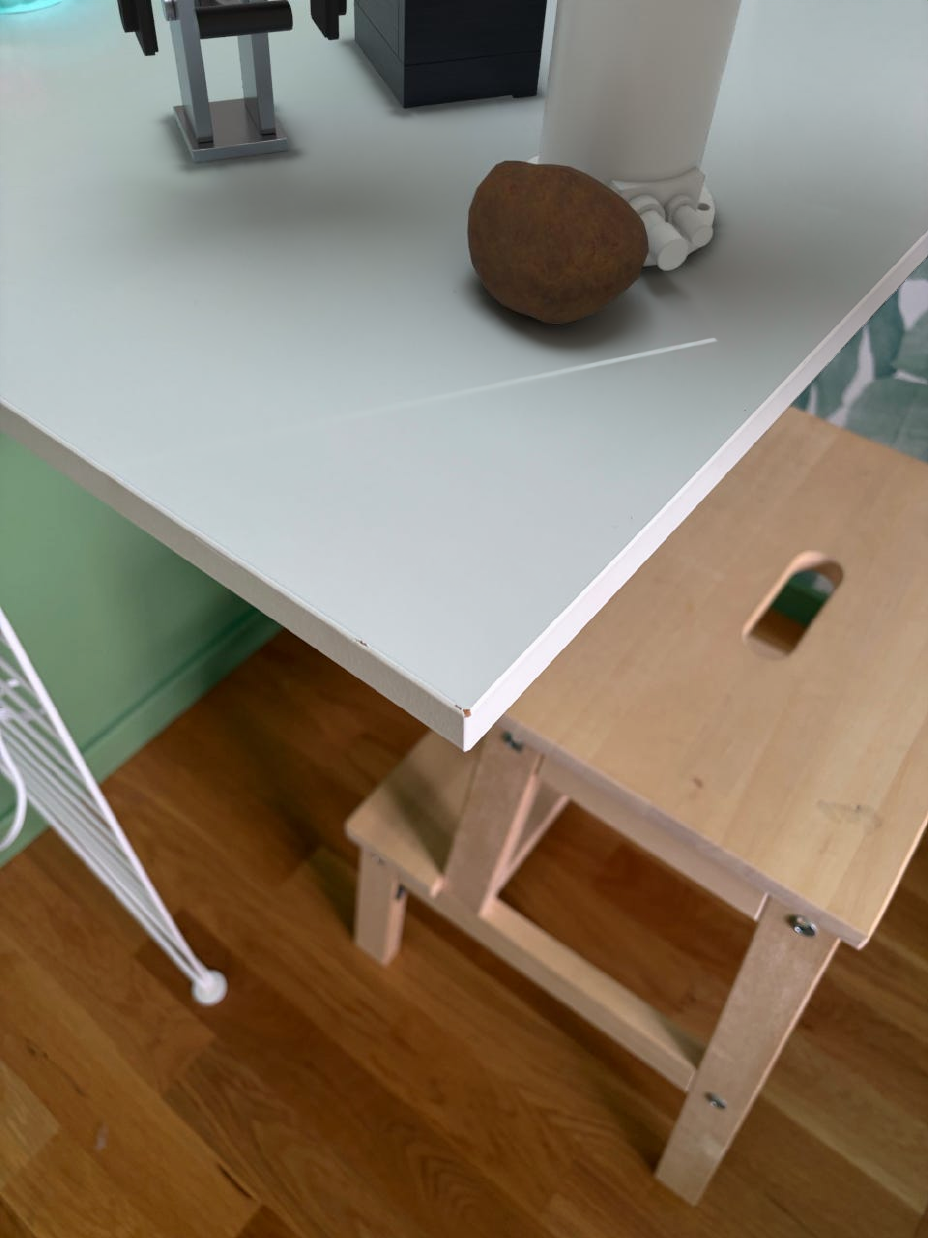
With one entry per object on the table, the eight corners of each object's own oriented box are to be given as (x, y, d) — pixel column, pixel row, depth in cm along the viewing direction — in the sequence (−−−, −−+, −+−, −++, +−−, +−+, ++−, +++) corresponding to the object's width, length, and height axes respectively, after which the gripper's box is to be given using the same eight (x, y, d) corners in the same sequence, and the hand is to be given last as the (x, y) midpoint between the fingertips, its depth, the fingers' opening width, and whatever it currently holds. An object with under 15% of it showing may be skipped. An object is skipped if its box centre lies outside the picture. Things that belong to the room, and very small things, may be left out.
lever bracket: (288, 153, 66) (276, -16, 58) (195, 166, 64) (169, -7, 56) (264, 110, 69) (249, -56, 61) (175, 121, 67) (148, -48, 60)
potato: (485, 252, 60) (497, 117, 54) (647, 297, 58) (678, 162, 52) (437, 321, 56) (444, 182, 49) (610, 371, 54) (639, 233, 48)
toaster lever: (295, 41, 55) (289, -11, 54) (203, 51, 54) (194, -2, 52) (255, 19, 63) (248, -28, 61) (172, 26, 61) (164, -21, 60)
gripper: (-20, -403, 37) (82, 84, 50) (429, -387, 42) (413, 53, 55) (-39, -439, 41) (60, 20, 55) (371, -420, 46) (370, -4, 59)
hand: (238, 36), depth 55 cm, fingers open, 9 cm apart
